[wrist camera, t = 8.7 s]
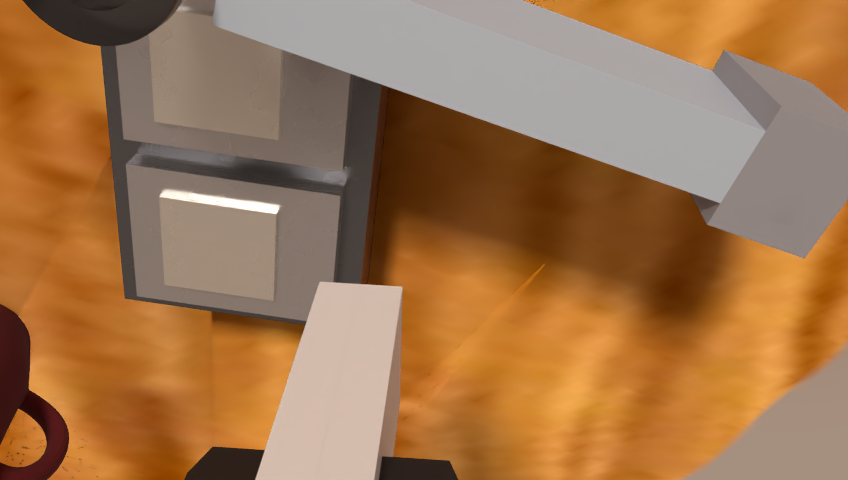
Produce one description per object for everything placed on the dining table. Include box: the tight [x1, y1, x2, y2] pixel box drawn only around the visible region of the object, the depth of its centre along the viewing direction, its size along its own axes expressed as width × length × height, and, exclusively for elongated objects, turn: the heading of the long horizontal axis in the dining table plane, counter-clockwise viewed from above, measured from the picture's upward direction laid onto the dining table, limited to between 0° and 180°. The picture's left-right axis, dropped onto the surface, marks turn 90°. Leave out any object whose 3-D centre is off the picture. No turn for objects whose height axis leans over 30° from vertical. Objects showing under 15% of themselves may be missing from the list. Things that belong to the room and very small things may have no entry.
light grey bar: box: [211, 0, 848, 258], centre depth 21 cm, size 17×4×5 cm, turn 71°
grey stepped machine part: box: [23, 0, 389, 325], centre depth 25 cm, size 10×18×12 cm, turn 172°
